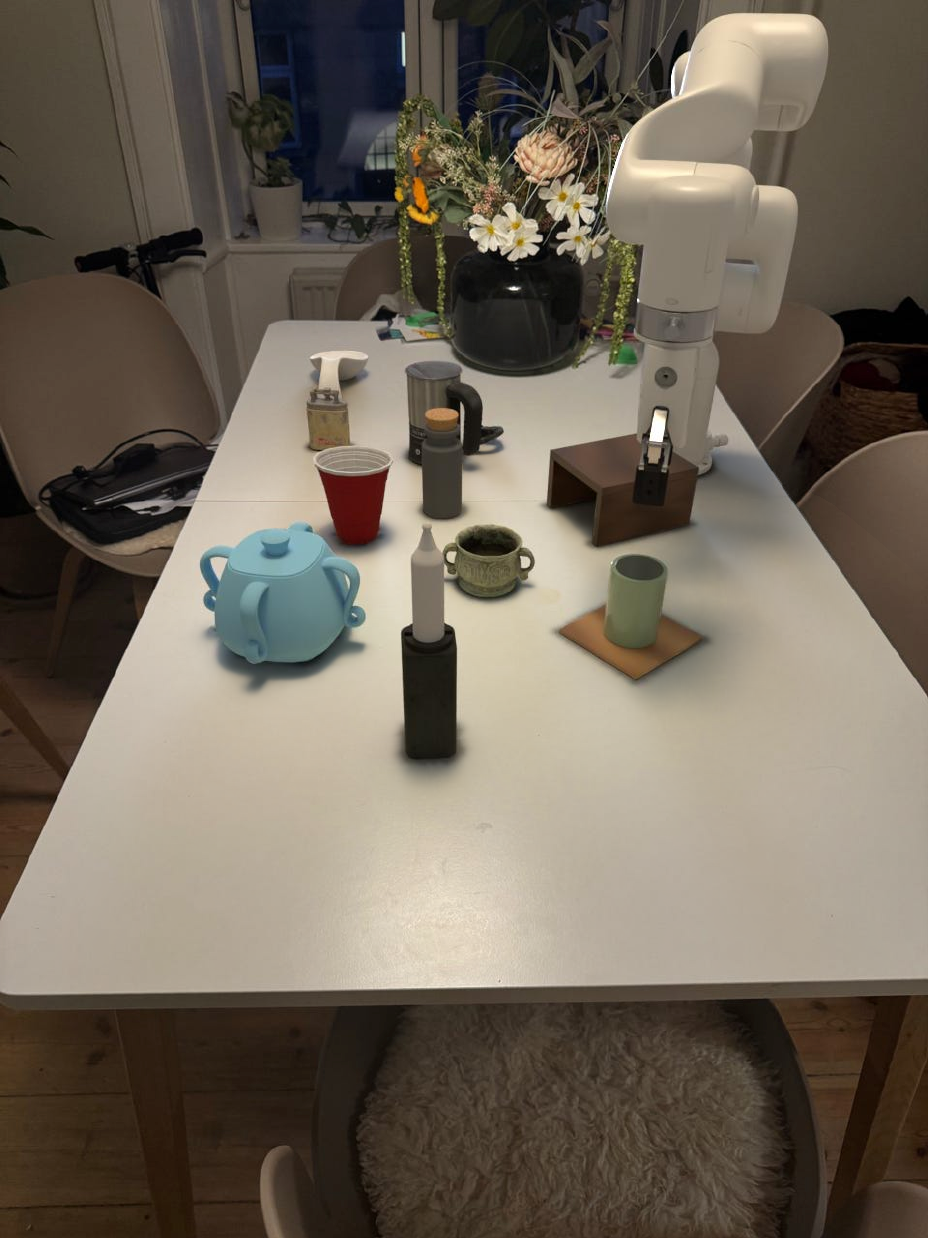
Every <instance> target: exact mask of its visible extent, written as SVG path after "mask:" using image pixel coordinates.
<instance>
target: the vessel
mask: <svg viewBox="0 0 928 1238" xmlns="http://www.w3.org/2000/svg"><path fill="white" fill-rule="evenodd" d="M441 552H442V554H443V556H444V566H446V569H447V570H446V572H447V574H448V575H452V576H454V575H456V574H458V576H459V577H458V585H459V587H460V588H461V589H462V590H463V591H465V592H466V593H467V594H470V595H472V596H474V597H481V598H496V597H500V596H504V595H506V594H507V593H510V592H511V591H512V590H514V588H515V587H516V579H517V577H519V580H520V581H521V582H523V581H527V580H528V579H529V573H530V572H531V571H532V570H533V569H534V567H535V564H536V560H535V557H534V554H533V552H532V551H531V550H530V549H529V548H527V547H523V538H522V537H521V535H520V534H519V533H518V532H516V531H515V530H513V529H512V528H509V527H506V526H503V525H498V524H475V525H472V526H468V527H466V528H464V529H462V530H460V531H459V532H458V533H457V534H456V535H455V538H454V542H448V543H447V544H446V545H445V546H444V548H443V549H442V551H441ZM450 552H456V553H455V556H454V561H453V562H452V561H449V560H448V556H447V555H448V553H450ZM521 557H524V558H527V559H529V565H528V566H527V567H522V558H521Z"/></svg>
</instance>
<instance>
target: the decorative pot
mask: <svg viewBox="0 0 928 1238" xmlns="http://www.w3.org/2000/svg"><path fill="white" fill-rule="evenodd" d="M213 558H214V559H215V558H222V559H227V561H226V562H225V565H224V568H223V571H222V574H221V576H220V579H219V577H218V576H217V574H216V572H215V570H214V568H213V566H212V563H211V559H213ZM199 569H200V572H201V575H202V578H203V580H204V581H205V583H206V585H207V587H208V588H209V589H208V590H207V591H205V593H204V595H203V599H202V600H203V601H202V602H203V605H204V607H205V608H206V609H207V610H209V611H211V612H212V613H214V627H215V628H214V629H215V632H216V635H217V637H218V639H219V641H220V642H221V643H222V644H223V645H224V646H226V647H227V648H228V649H229V650H230V651H232V652H233V653H235V654H236V655H238V656H240V657H244V658H245V660H246V661H247V662H248V663H251V664H260V663H262V662H273V663H300V662H309V661H311V660H313V659H315V658H316V657H317V656H319V655H321V654H322V653H323V652H325V651H326V650H327V649H328V648H329V647H330V646H331V645H332V644H333V643H334V642H335V640H336V639H337V638H338V636H339V635H340V634H341V632H342V630H343V629H344V627H348V628H351V629H352V628H358V627H361V626H362V625H363V624H364V623H365V621H366V618H367V617H366V616H367V615H366V611H365V610H364V608H363V607H361V606H360V605H354V604H355V601H356V599H357V596H358V593H359V589H360V586H361V576H360V572H359V569H358V568H357V567H356V566H355V564H353V562H351V561H349V560H348V559H345V558H343V557H339V556H336V555H335V554H334V552H333V551H332V549H331V547H330V546H329V545H328V543H327V542H326V540H324V538H323V537H322V536H321V535H319V534H317V533H315V532H314V529H313V527H312V525H311V524H309V523H307V522H304V521H296V522H293V523H291V524H290V526H289V527H288V528H265V529H259V530H256V531H254V532H252V533H251V534H249V535H247V536H246V537H244V538H243V539H242V540H241V541H240V542H239V543H238V544H237V545H236V546H235V547H231V546H228V545H216V546H212V547H210V548H209V549H207V550H206V551H205V552H204V553H203V554H202V555H201V557H200V561H199ZM346 577H347V578H348V580H349V585H348V581H347V578H346ZM213 597H214V598H215V599H214V598H213Z"/></svg>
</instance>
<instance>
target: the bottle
mask: <svg viewBox="0 0 928 1238" xmlns="http://www.w3.org/2000/svg"><path fill="white" fill-rule="evenodd" d="M458 416H459V414H458V412H457V411H455V410H452V409H447V408H437V409H432V410H429V411H427V412H426V413H425V417H426V422H427V423H426V424H425V425H424V433H425V435H426V436H428V438H426V439H425V440H424V441H423V442H422V464H421V478H422V479H421V482H422V483H421V484H422V485H421V486H422V487H421V489H422V510H423V513H424V514H425V515H426V516H427V517H430V518H433V519H442V520H443V519H452V518H455V517H456V516H459V515H460V514H461V513H462V509H463V456H462V452H463V450H462V446H463V441H462V440H461V441H460V440H459V439H458V438H456V436H458V435H459V433H460V426H459V424H458V423H457V420H458Z"/></svg>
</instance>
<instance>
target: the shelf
mask: <svg viewBox="0 0 928 1238" xmlns="http://www.w3.org/2000/svg"><path fill="white" fill-rule="evenodd" d="M641 450H642V444H641V443H639V442H638V440H637V432H636V433H631V434H625V435H621V436H615V437H609V438H605V439H600V440H599V439H598V440H594V441H589V442H584V443H583V442H582V443H578V444H573V445H568V446H563V447H558V448H557V447H556V448H552V449H550V452H549V462H548V463H549V465H548V478H547V479H548V480H547V491H546V492H547V493H546V494H547V495H546V507H548V508H549V509H554V508H559V507H562V506H567V505H572V504H577V503H582V502H586V501H590V500H591V501H592V500H595V499H596V501H595V510H594V519H593V528H592V529H593V530H592V538H591V544H593V546H594V547H601V546H605V545H609V544H613V543H618V542H622V541H625V540H630V539H634V538H638V537H642V536H647V535H650V534H654V533H659V532H663V531H666V530H672V529H677V528H680V527H685V526H688V525H690V523H691V518H692V516H691V515H692V511H693V505H694V499H695V494H696V489H697V484H698V477H699V475H698V471H699V467H697V466H696V465H694V464H692V463H691V462H689V461H687V460H686V459H684V458H683V457H681V456H679V455H678V454H676V453H674V452H673V451H672V458H671V464H670V465H669V466H667V469H669V475H668V482H667V488H666V495H665V501H664V505H663V506H661V507H659V506H651V505H643V504H635V503H634V502H633V492H634V484H635V476H636V469H637V465H638V466H639V462H640V456H641Z"/></svg>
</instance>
